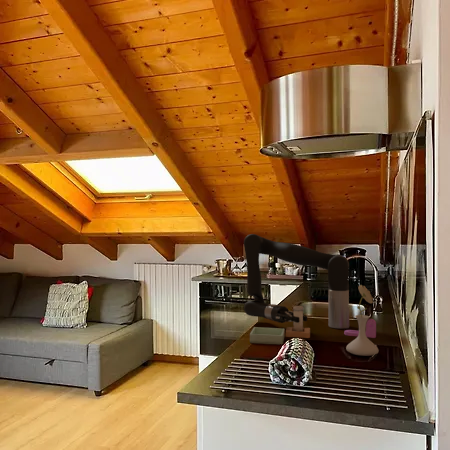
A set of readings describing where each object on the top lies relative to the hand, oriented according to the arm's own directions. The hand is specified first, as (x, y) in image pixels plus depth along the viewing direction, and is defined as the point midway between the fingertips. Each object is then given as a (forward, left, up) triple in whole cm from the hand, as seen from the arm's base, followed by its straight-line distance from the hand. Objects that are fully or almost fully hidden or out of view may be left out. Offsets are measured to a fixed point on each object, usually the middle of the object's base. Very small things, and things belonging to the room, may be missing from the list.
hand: (302, 319), depth 194 cm
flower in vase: (-22, +23, -7) cm, 33 cm away
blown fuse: (+2, -2, -7) cm, 8 cm away
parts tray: (+14, +10, -7) cm, 19 cm away
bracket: (-24, -7, -7) cm, 26 cm away
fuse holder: (+2, -2, -7) cm, 8 cm away
